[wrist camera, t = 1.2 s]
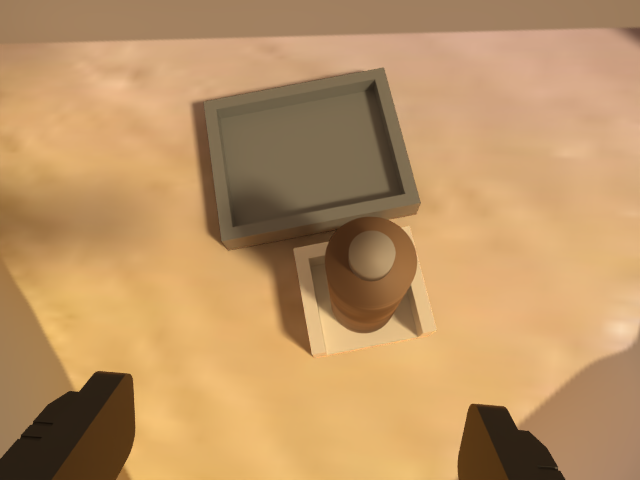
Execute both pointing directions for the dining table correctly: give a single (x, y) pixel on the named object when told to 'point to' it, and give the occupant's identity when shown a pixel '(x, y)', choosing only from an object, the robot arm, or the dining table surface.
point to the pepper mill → (368, 272)
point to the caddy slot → (333, 337)
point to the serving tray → (308, 159)
